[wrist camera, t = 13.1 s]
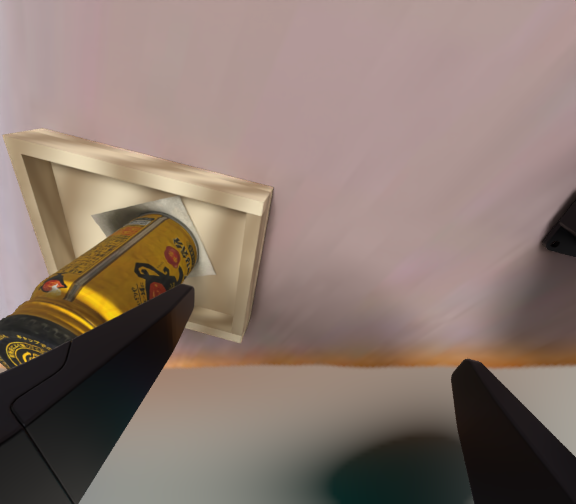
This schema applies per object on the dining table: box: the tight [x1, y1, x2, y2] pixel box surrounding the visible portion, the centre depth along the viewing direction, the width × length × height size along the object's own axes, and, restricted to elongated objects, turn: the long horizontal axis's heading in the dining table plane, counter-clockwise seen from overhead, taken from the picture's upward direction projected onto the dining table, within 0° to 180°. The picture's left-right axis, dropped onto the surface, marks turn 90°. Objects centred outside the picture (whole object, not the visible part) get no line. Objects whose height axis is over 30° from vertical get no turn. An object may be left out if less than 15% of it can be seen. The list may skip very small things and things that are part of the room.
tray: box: [2, 128, 274, 343], centre depth 23 cm, size 18×14×3 cm
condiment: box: [0, 195, 216, 370], centre depth 19 cm, size 7×8×12 cm
